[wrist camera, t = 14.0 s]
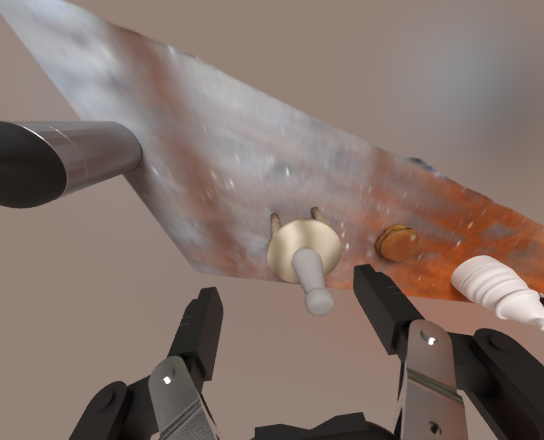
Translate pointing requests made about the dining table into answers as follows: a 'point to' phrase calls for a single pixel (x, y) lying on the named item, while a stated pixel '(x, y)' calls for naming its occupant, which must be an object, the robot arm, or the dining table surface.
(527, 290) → the honey pot
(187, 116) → the dining table surface
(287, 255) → the stool
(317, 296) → the salt shaker
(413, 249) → the burger
